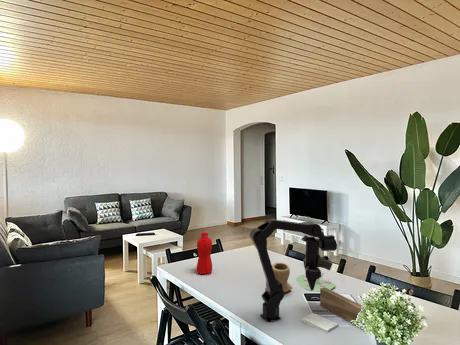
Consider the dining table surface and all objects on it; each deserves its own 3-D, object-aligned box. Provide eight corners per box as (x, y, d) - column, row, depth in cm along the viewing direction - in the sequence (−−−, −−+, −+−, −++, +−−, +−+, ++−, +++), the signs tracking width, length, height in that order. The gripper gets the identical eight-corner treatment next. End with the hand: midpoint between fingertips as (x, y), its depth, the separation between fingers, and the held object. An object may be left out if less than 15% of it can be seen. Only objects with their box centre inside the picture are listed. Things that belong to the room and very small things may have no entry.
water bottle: (213, 269, 193) (213, 230, 193) (210, 275, 183) (210, 234, 182) (199, 269, 194) (199, 230, 194) (195, 275, 183) (195, 233, 183)
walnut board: (366, 331, 120) (366, 311, 120) (320, 305, 143) (320, 288, 143) (371, 330, 121) (371, 310, 121) (324, 303, 145) (325, 287, 145)
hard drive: (338, 323, 124) (313, 312, 134) (327, 330, 119) (301, 318, 129) (338, 327, 124) (313, 316, 134) (327, 334, 119) (301, 321, 129)
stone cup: (279, 299, 149) (279, 269, 149) (261, 292, 159) (262, 263, 158) (298, 291, 159) (298, 263, 159) (281, 285, 168) (281, 258, 168)
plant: (284, 281, 175) (284, 266, 175) (307, 274, 187) (307, 259, 187) (320, 296, 155) (321, 278, 155) (343, 286, 168) (343, 270, 167)
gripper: (334, 258, 123) (333, 296, 123) (328, 247, 142) (327, 280, 142) (306, 256, 125) (305, 293, 126) (304, 245, 144) (303, 278, 144)
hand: (311, 286), depth 134 cm, fingers open, 9 cm apart
